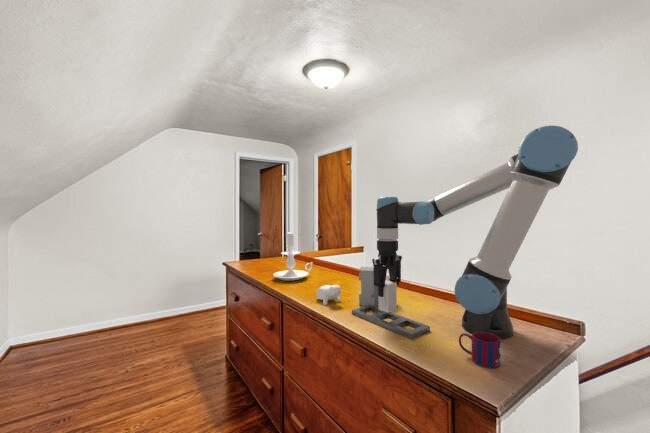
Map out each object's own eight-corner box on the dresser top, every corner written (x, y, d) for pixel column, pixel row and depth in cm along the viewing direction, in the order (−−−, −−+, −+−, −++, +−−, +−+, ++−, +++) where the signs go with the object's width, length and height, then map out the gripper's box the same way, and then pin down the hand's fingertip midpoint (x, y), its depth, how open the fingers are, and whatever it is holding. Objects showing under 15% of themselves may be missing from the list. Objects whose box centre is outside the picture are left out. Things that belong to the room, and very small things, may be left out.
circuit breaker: (393, 306, 122) (393, 271, 121) (359, 305, 125) (358, 270, 124) (392, 301, 129) (392, 267, 129) (360, 299, 132) (360, 266, 132)
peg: (396, 310, 106) (396, 282, 105) (388, 312, 103) (388, 284, 103) (386, 306, 109) (386, 280, 109) (378, 309, 107) (378, 282, 106)
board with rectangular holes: (430, 330, 98) (429, 326, 98) (411, 338, 92) (411, 334, 92) (369, 308, 120) (369, 304, 120) (351, 313, 114) (351, 310, 114)
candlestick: (320, 279, 170) (320, 231, 169) (280, 285, 158) (279, 233, 157) (305, 272, 188) (305, 229, 187) (268, 277, 176) (267, 231, 175)
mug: (496, 371, 73) (496, 345, 73) (455, 358, 80) (455, 333, 80) (503, 361, 78) (503, 336, 78) (464, 349, 85) (464, 326, 85)
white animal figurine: (316, 307, 132) (331, 303, 120) (312, 288, 134) (327, 282, 122) (332, 303, 136) (348, 300, 124) (328, 285, 139) (344, 280, 126)
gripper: (395, 237, 114) (395, 296, 114) (362, 240, 103) (362, 306, 104) (411, 238, 108) (411, 301, 108) (378, 242, 97) (378, 312, 98)
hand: (387, 303), depth 106 cm, fingers closed on peg, 5 cm apart
